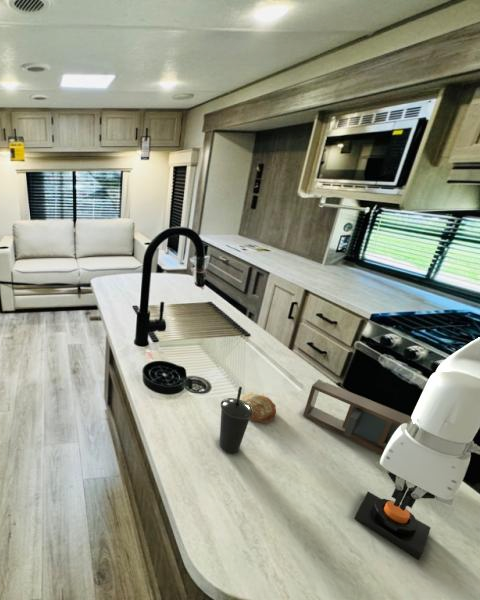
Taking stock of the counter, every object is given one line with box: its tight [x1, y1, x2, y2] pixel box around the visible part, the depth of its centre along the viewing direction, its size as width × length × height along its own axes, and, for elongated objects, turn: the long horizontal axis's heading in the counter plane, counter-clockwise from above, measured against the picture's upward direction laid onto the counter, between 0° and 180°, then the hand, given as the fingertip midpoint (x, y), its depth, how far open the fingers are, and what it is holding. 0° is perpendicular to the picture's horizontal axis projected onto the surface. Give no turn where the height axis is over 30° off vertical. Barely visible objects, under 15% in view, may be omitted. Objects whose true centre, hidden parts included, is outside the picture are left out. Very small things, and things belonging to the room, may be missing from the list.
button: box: [384, 500, 411, 524], centre depth 65 cm, size 4×4×2 cm
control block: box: [353, 491, 432, 561], centre depth 65 cm, size 10×8×4 cm
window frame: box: [302, 378, 411, 456], centre depth 88 cm, size 21×5×12 cm, turn 36°
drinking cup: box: [219, 386, 253, 455], centre depth 83 cm, size 8×8×20 cm
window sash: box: [342, 404, 393, 446], centre depth 84 cm, size 9×7×8 cm
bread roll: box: [240, 392, 277, 424], centre depth 98 cm, size 10×10×8 cm
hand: (400, 503), depth 64 cm, fingers closed
